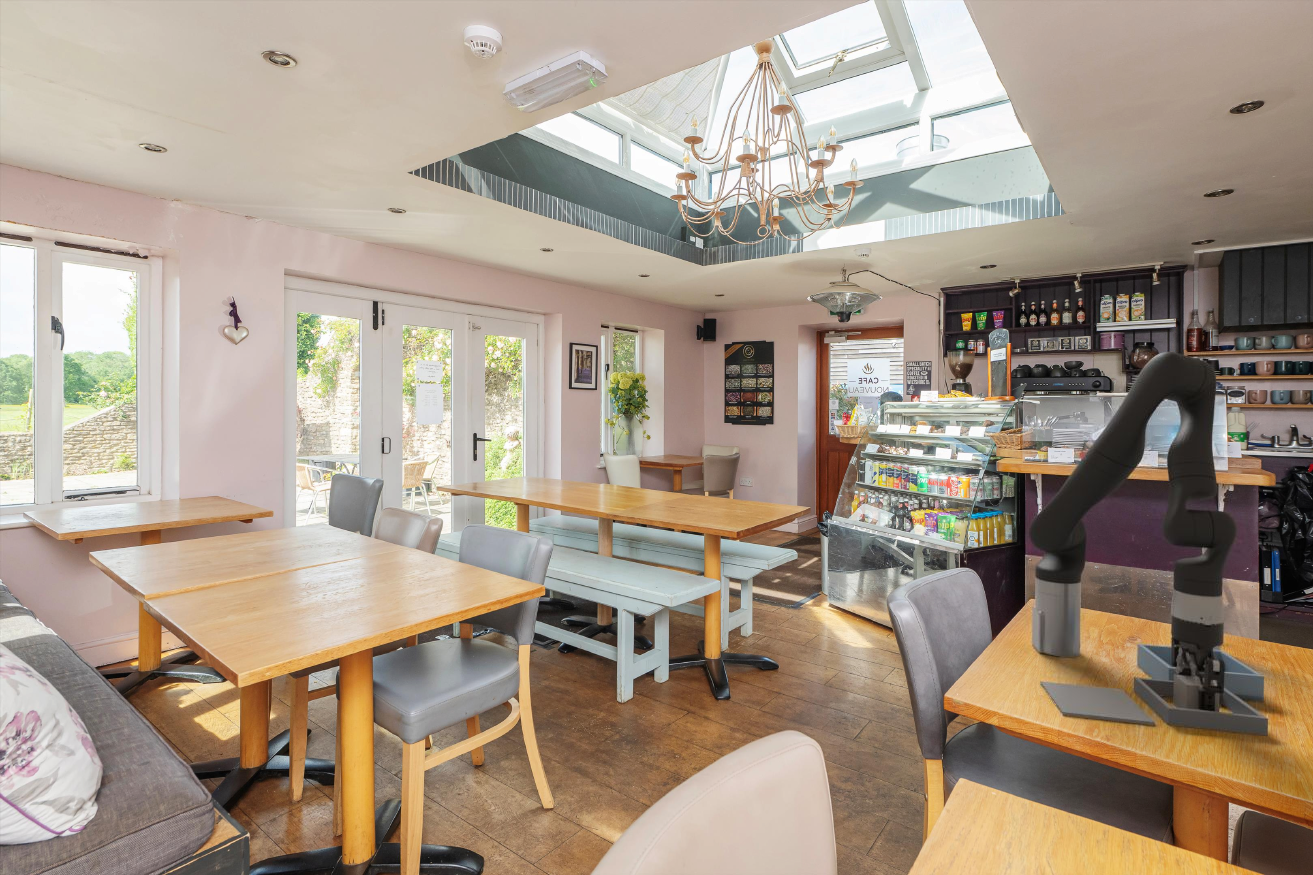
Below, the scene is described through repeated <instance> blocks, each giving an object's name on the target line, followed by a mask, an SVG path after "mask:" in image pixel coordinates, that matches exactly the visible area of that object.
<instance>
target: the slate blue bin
mask: <svg viewBox="0 0 1313 875" xmlns="http://www.w3.org/2000/svg"><path fill="white" fill-rule="evenodd" d="M1213 653H1214V657H1215V659H1216V660H1221V661H1224V663H1225V674H1224V688H1226V689H1227V690H1229V691H1230V692H1231V693H1233V694H1234V695H1236V696H1237V697H1238V698H1240V699H1241V700H1243V701H1252V702H1260V703H1261V702H1262V703H1264V702H1265V700H1264V699H1265V693H1264V692H1265V676H1264V675H1262V674H1261V673H1259V672H1257V671H1256V670H1254V669H1252V668H1251V667H1249V665H1246V664H1244V663H1243V662H1242V661H1240V660H1238V659H1237V658H1235V657H1233V656H1232V655H1230V654H1228V653H1227V652H1225V651H1224V650H1222V649H1220V650H1213ZM1136 654H1137V655H1136V659H1137V660H1136V666H1137V667H1138V668H1139V669H1140V670H1142V672H1144V674H1146V675H1147V676H1148V677H1150V679H1160V680H1171V681H1174V675H1178V673H1177V672H1176V667H1173V666H1172V664H1171V646H1169V645H1161V644H1160V645H1157V644H1147V643H1137V652H1136ZM1177 657H1178V656H1177ZM1200 673H1204V672H1200ZM1192 676H1193V675H1192ZM1216 683H1217V680H1216Z"/></svg>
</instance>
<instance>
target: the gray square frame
mask: <svg viewBox="0 0 1313 875" xmlns="http://www.w3.org/2000/svg"><path fill="white" fill-rule="evenodd" d="M1133 692H1134V694H1136V696H1138V698H1139V699H1141V700H1142V701H1143V703H1145V704H1146V705H1147V706H1148V707H1149V708H1150V710H1152V711H1153V712H1155V714H1156V715H1157V716H1158V717H1159V718H1161V720H1163V722H1165V723H1166V724H1167V725H1169V726H1176V727H1177V726H1178V727H1185V728H1186V727H1187V728H1196V729H1204V730H1205V729H1206V730H1214V731H1222V732H1223V731H1224V732H1230V733H1241V734H1247V735H1248V734H1249V735H1256V736H1257V735H1259V736H1265V737H1267V736H1268V735H1269V718H1268V717H1267V716H1265V715H1263V714H1262V713H1261V712H1259V711H1258V710H1257V709H1255V707H1252V706H1251V705H1250V704H1248V703H1247V702H1246V701H1245V700H1241V699H1240V698H1238V697H1237V696H1236V695H1234V694H1233V693H1231V692H1230V691H1229V690H1227V689H1226V688H1224V693H1223V694H1221V693H1219V704H1221V705H1222V706H1224V707H1225V708H1226V709H1227V710H1229V711H1230V712H1224V711H1223V712H1222V711H1219V712H1215V711H1206V710H1196V709H1186V708H1177V707H1175V706H1171V705H1170V704H1169V703H1168V702H1166V701H1165V700H1164V699H1163V698H1162V697H1171V698H1173V695H1174V681H1171V680H1160V679H1152V678H1151V677H1150V678H1149V677H1147V678H1146V677H1138V676H1136V677H1135V676H1134V677H1133Z"/></svg>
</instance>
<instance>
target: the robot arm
mask: <svg viewBox="0 0 1313 875" xmlns="http://www.w3.org/2000/svg"><path fill="white" fill-rule="evenodd" d="M1215 371H1216V370H1215V369H1214V367H1213V366H1212V365H1211V364H1209V362H1206V361H1204V360H1201V359H1199V358H1196V357H1193V356H1192V357H1191V356H1188V355H1185V354H1181V353H1178V352H1173V351H1164V352H1161V353H1158V354H1156V355H1155V356H1153V357H1152V358H1150V360H1149V361H1148V362H1147V363H1146V364H1145V365H1144V367H1142V369H1141V371H1140V372H1139V374H1138V376H1136V379H1135V380H1134V382H1133V384H1132V386H1131V387H1130V388H1129V391H1128V393H1127V394H1126V396H1125V398H1123V401H1122V403H1121V405H1120V406H1119V407H1118V409H1117V410H1116V412H1115V413H1114V415H1113V416H1112V418H1111V419H1110V420H1109V422H1108V423H1107V425H1106V426H1105V427H1104V429H1103V430H1102V432H1101V433H1100V434H1099V436H1098V437H1097V438H1096V439H1095V441H1094V442H1093V443H1092V444H1091V446H1089V449H1088V450H1087V451H1086V452H1085V454H1084V455H1083V456H1082V458H1081V460H1080V461H1079V462H1078V464H1077V466H1076V467H1075V468H1074V469H1073V471H1072V472H1071V474H1070V475H1069V476H1068V478H1067V479H1066V481H1065V482H1064V483H1063V485H1062V487H1061V488H1060V489H1059V490H1058V492H1057V493H1056V494H1055V496H1054V497H1053V498H1051V500H1050V501H1049V502H1048V503H1047V504H1046V505H1045V506H1044V507H1043V508H1042V509H1041V510H1040V511H1039V513H1038V514H1036V516H1034V518H1033V519H1032V520H1031V523H1030V525H1029V529H1028V537H1029V540H1030V542H1031V543H1032V544H1031V545H1033V547H1035V548H1036V549H1037V550H1039V551H1042V552H1043V556H1042V558H1041V560H1040V561H1039V562H1038V563H1037V564H1036V565H1035V571H1034V573H1035V575H1034V576H1035V578H1034V579H1035V581H1034V583H1035V585H1034V587H1035V588H1034V590H1035V592H1034V596H1035V597H1034V605H1032V613H1031V617H1032V621H1031V622H1032V624H1031V626H1032V627H1031V628H1032V629H1031V633H1032V634H1031V643H1032V646H1033V647H1034V648H1035V650H1036V651H1037V652H1038V653H1040V654H1046V655H1050V656H1056V657H1063V658H1073V657H1079V656H1081V613H1082V612H1081V611H1082V609H1081V605H1082V602H1081V597H1082V595H1081V594H1082V575H1083V574H1082V573H1083V571H1084V570H1085V565H1086V557H1087V556H1086V554H1087V529H1086V526H1085V523H1084V521H1083V520H1082V519H1083V518H1084V517H1085V516H1086V514H1087V513H1088V512H1090V510H1091V509H1092V508H1094V507H1095V506H1096V505H1098V504H1099V503H1100V502H1102V501H1103V500H1104V499H1106V498H1107V497H1109V496H1110V495H1111V494H1112V493H1113V492H1115V491H1116V490H1117V489H1119V488H1120V486H1122V485H1123V483H1124V482H1126V481H1127V480H1128V478H1129V477H1130V476H1131V474H1133V472H1134V471H1135V469H1136V468H1137V467H1138V466H1139V464H1140V463H1141V462H1142V460H1143V457H1144V453H1145V448H1146V431H1147V426H1148V424H1149V420H1150V419H1151V417H1152V416H1153V414H1154V413H1155V412H1156V410H1157V409H1158V407H1159V406H1160V405H1161V403H1163V401H1164V400H1167V401H1171V402H1175V403H1176V405H1177V408H1178V411H1179V415H1180V424H1179V427H1178V431H1177V433H1176V435H1175V437H1174V439H1173V441H1172V443H1171V444H1170V446H1169V448H1168V451H1167V455H1166V466H1167V474H1168V486H1169V487H1168V488H1169V494H1168V501H1167V507H1166V511H1165V514H1164V517H1163V520H1162V526H1161V530H1162V535H1163V538H1165V540H1166V541H1167V542H1168V543H1169V544H1171V545H1172V546H1175V547H1183V548H1184V547H1185V548H1200V549H1202V548H1207V550H1206V551H1205V552H1204V554H1203V553H1202V554H1201V555H1199V556H1196V557H1187V558H1180V559H1178V560H1176V561H1175V562H1174V565H1173V583H1172V584H1173V587H1172V589H1173V590H1172V596H1171V597H1172V598H1171V607H1170V608H1171V612H1170V613H1171V618H1170V619H1171V621H1170V622H1171V623H1170V625H1171V626H1170V635H1171V637H1170V638H1171V639H1170V640H1171V641H1170V644H1171V664H1172V666H1173V667H1176V672H1177V673H1178V675H1185V676H1192V675H1193V677H1194V678H1196V679H1197V683H1198V687H1199V699H1198V708H1199V709H1200V710H1206V711H1215V693H1221V694H1223V693H1224V674H1225V663H1224V661H1221V660H1216V659H1215V657H1214V653H1213V648H1214V647H1216V646H1221V647H1222V646H1223V644H1224V639H1225V638H1224V632H1225V629H1224V624H1225V619H1224V617H1225V606H1224V598H1223V581H1224V579H1223V578H1224V577H1223V576H1224V572H1225V571H1224V570H1225V568H1226V567H1225V566H1226V563H1227V561H1228V557H1229V554H1230V551H1231V549H1233V546H1234V543H1235V540H1236V537H1237V532H1238V529H1237V524H1236V521H1235V520H1234V518H1233V517H1232V516H1231V515H1230V514H1229V513H1227V512H1226V511H1222V510H1209V509H1208V510H1207V509H1206V510H1205V509H1204V510H1202V509H1188V508H1187V504H1189V503H1193V502H1200V501H1205V500H1210V499H1213V498H1214V497H1216V495H1217V493H1218V483H1217V475H1216V468H1215V460H1214V453H1213V434H1214V432H1213V428H1214V421H1215V407H1216V406H1215V404H1216V392H1217V376H1216V372H1215ZM1177 656H1178V657H1177ZM1200 672H1204V673H1200ZM1203 679H1204V682H1203ZM1216 680H1217V683H1216Z"/></svg>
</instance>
